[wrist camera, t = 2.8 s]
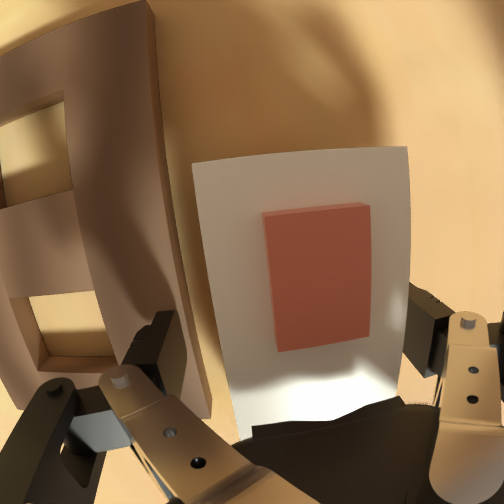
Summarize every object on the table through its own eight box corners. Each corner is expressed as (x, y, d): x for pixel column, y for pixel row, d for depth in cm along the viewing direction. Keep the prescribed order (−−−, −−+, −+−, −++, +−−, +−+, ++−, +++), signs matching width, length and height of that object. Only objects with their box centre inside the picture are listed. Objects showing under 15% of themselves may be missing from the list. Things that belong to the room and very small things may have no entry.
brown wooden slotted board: (154, 14, 10) (145, -1, 9) (212, 398, 15) (210, 418, 14) (-43, 98, 10) (-60, 96, 8) (27, 394, 15) (17, 409, 13)
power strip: (325, 152, 12) (419, 145, 5) (333, 395, 15) (374, 500, 9) (213, 163, 12) (187, 163, 5) (250, 408, 15) (259, 523, 9)
